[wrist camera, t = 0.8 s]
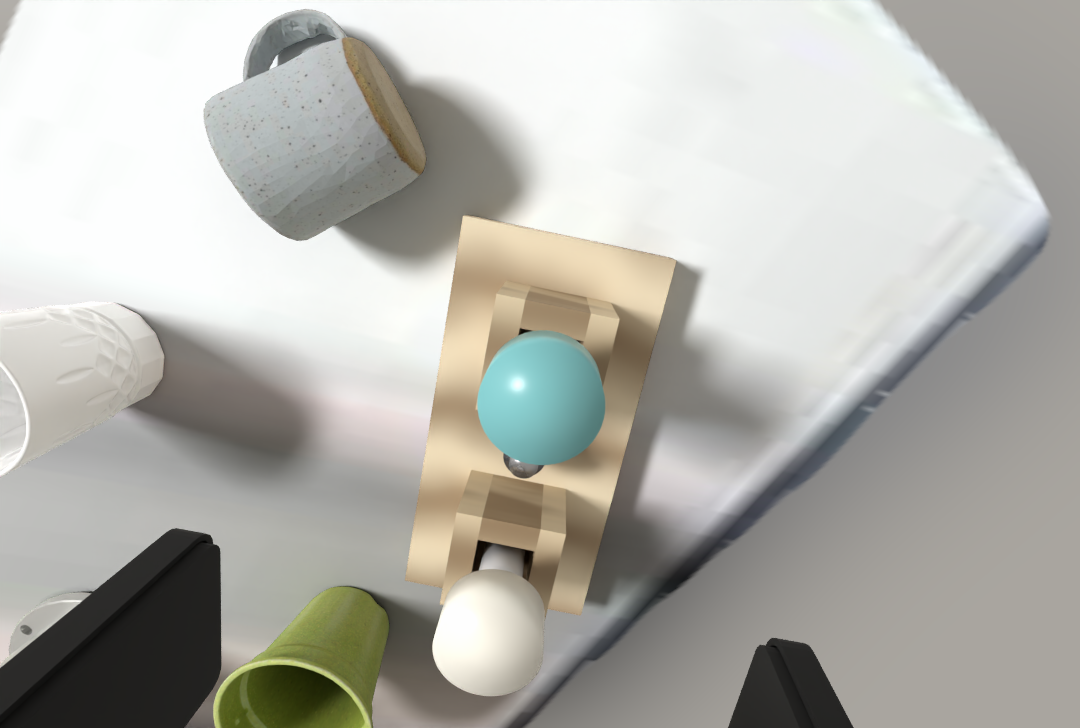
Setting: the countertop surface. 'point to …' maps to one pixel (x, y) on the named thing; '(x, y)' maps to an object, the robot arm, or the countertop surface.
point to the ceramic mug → (313, 129)
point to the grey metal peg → (521, 467)
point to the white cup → (69, 373)
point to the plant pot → (312, 669)
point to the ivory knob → (491, 627)
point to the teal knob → (542, 398)
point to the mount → (455, 430)
